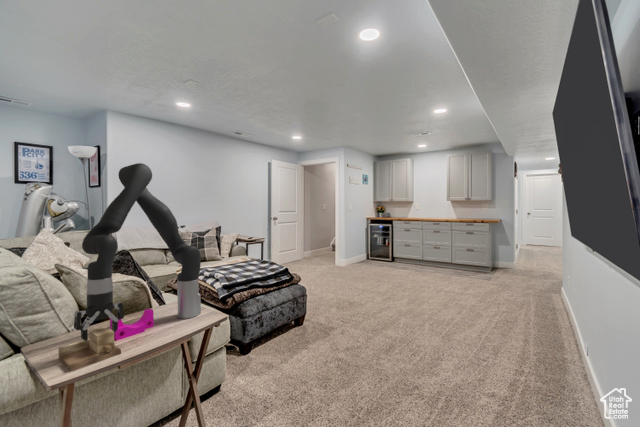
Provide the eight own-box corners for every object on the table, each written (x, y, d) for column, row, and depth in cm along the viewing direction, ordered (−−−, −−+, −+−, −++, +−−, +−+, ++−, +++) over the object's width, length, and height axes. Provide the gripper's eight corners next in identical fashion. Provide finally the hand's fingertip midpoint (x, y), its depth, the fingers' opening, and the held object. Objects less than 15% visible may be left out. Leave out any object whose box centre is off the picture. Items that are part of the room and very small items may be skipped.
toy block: (116, 341, 115) (116, 322, 115) (110, 337, 119) (109, 318, 118) (156, 328, 127) (156, 311, 127) (149, 325, 131) (149, 308, 131)
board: (106, 343, 112) (106, 333, 112) (121, 353, 105) (120, 342, 104) (58, 359, 101) (58, 347, 101) (70, 371, 93) (70, 358, 93)
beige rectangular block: (105, 342, 110) (105, 326, 110) (117, 350, 104) (117, 333, 104) (89, 347, 106) (88, 330, 106) (100, 356, 100) (100, 338, 100)
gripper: (118, 285, 113) (118, 327, 114) (71, 293, 102) (71, 340, 102) (126, 288, 109) (126, 332, 109) (78, 297, 98) (78, 346, 98)
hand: (100, 335), depth 106 cm, fingers open, 8 cm apart
